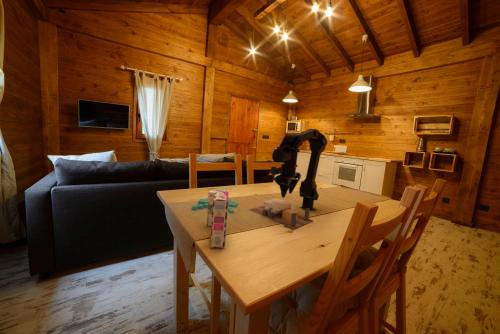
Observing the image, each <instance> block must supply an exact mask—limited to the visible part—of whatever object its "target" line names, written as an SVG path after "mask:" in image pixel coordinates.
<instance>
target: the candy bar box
mask: <svg viewBox="0 0 500 334" xmlns="http://www.w3.org/2000/svg"><path fill="white" fill-rule="evenodd" d="M228 199H229V191H227V192H218V191H216V193H215V196H214V199H213V214H212V227H211V230H210V231H211V232H210V242H209V243H210V244H209V245H210V246H209V248H210V249H211V248H212V249H225V248H226V247H225V244H226V235H227V224H228V214H229V211H228Z"/></svg>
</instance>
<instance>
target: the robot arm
mask: <svg viewBox="0 0 500 334" xmlns="http://www.w3.org/2000/svg"><path fill="white" fill-rule="evenodd" d="M306 141H308V143H309V145H308V146H309V150H310V156H309V161H308V166H307V170H306V174H305V175H306V176H305V179H303V180H301V181H300V179H301V177H302V174H301V173H300V172H297V168H299V167H298V165H299V164H297V162H298V154H299V153H300V152H301V151H300V149H299V148H300V147H301V146H303V143H304V142H306ZM327 145H328V139H327V138H326V136H325V135H324V134H323V133H322V132H320V130H319V129H317V128H307V129H306V130H303V131H301V132H298V133H287V134H285V135H284V137H283V139H282V140H281V142H280V144H279V146H277V147H276V149H275V150H274V151H273V152H272V155H271V156H272V157H271V158H272V161H273V162H274V163H276V164H280V163H281V166H279V167H277V166H271V167H270V171H269V173H270V174H271V176H275V177H274V183H275V184H277V185H278V186H279V189H280V194H281V198H282V199H283V198H285V197H286V195H287V193H288V194H290V195H291V194H292V193H293V192H294V189H295V188H296V186H298V185H297V184H298V183H299V181H300V186H299V189H298V191H299V197H300V198H302V206H300V208H301V209H302V210H305V209H307V208H310V212H311V211H315V210H316V208H315V207H314V204H315V202H314V201H318V200H319V196H320V195H319V192H318V191H317V189H318V186H317V183H316V177H317V173H318V168H319V163H320V158H321V154H322V153H323V152H324V151H325V150H326V148H327V147H326V146H327Z"/></svg>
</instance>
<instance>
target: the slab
mask: <svg viewBox="0 0 500 334" xmlns="http://www.w3.org/2000/svg"><path fill="white" fill-rule="evenodd" d="M292 204H293V203H292V202H289V201H286V200H284V199H280V198H276V197H275V198H273V199H269V200H264V201H263V206H266V207H269V208H272V209H274V210H277V211H280V210H284V209H287V208H292Z"/></svg>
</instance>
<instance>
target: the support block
mask: <svg viewBox="0 0 500 334" xmlns="http://www.w3.org/2000/svg"><path fill="white" fill-rule="evenodd" d="M292 213H297V216H296V220H297V217H298V215H299V211H297V210H295V209H294V210H293V209H286V210H283V214H282V218H283V219H285V220H288V221H291V215H292Z"/></svg>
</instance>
